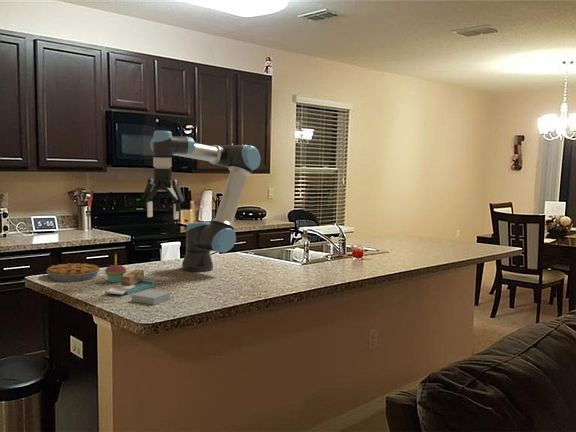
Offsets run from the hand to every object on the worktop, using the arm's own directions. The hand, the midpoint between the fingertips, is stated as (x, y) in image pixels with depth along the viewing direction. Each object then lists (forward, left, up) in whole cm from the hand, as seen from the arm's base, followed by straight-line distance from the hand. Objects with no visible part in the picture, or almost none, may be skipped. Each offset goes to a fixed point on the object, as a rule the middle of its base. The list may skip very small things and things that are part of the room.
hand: (163, 218), depth 225 cm
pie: (+12, -38, -28) cm, 49 cm away
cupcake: (+9, -17, -28) cm, 34 cm away
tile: (+21, +14, -27) cm, 37 cm away
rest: (+16, -2, -28) cm, 32 cm away
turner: (+18, -3, -26) cm, 32 cm away
